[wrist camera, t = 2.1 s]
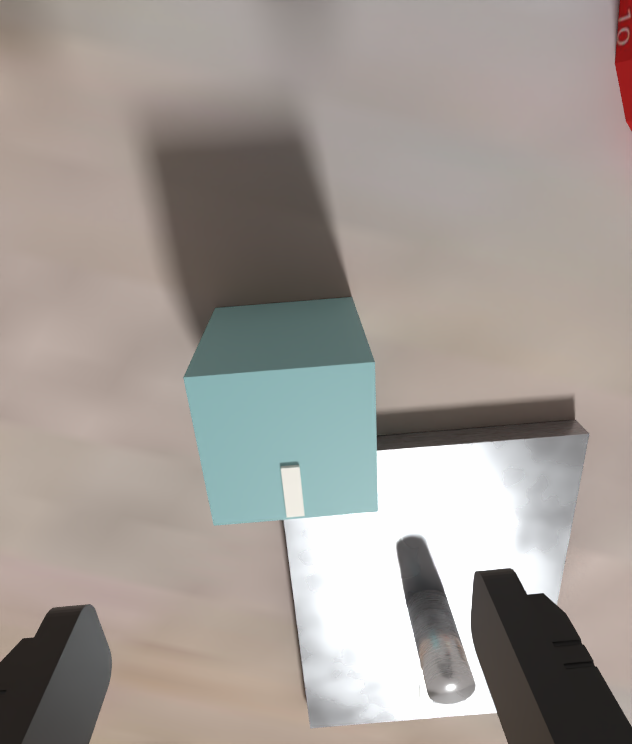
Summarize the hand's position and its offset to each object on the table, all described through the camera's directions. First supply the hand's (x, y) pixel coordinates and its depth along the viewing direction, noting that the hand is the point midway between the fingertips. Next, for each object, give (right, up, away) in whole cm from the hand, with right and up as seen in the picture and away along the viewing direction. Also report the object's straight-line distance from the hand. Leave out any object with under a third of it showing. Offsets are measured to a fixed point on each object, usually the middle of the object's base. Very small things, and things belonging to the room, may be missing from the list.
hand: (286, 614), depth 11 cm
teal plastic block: (-1, +6, +11) cm, 12 cm away
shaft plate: (+6, -7, +17) cm, 19 cm away
